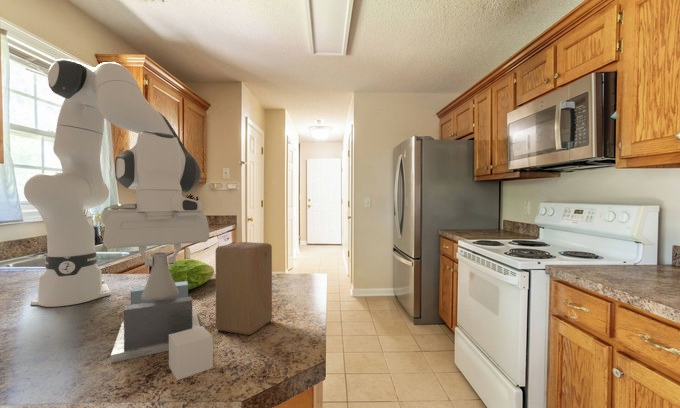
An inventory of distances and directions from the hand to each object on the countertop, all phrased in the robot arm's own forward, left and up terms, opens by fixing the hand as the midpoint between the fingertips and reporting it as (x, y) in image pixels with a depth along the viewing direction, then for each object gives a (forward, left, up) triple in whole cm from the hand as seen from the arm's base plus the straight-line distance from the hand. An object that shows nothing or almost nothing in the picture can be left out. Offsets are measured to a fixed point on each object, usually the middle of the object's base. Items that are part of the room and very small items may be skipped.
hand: (160, 265), depth 69 cm
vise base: (0, 0, -16) cm, 16 cm away
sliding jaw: (-8, 0, -15) cm, 17 cm away
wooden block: (+3, +18, -17) cm, 24 cm away
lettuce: (-42, +9, -17) cm, 46 cm away
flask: (0, 0, -8) cm, 8 cm away
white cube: (+17, +5, -17) cm, 24 cm away
